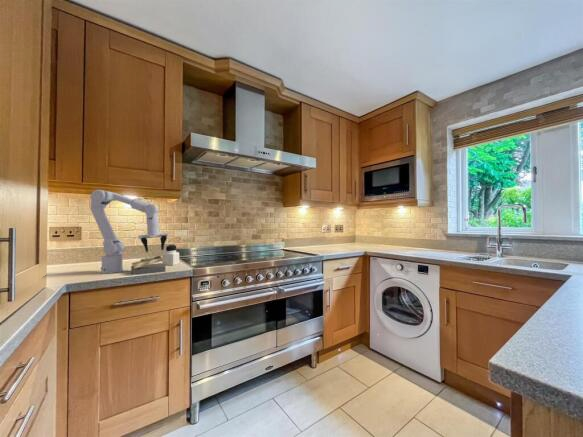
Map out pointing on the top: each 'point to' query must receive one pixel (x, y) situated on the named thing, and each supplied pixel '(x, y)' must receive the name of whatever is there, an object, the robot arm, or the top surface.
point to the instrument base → (148, 269)
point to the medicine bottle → (170, 256)
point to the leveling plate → (147, 261)
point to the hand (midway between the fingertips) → (154, 250)
